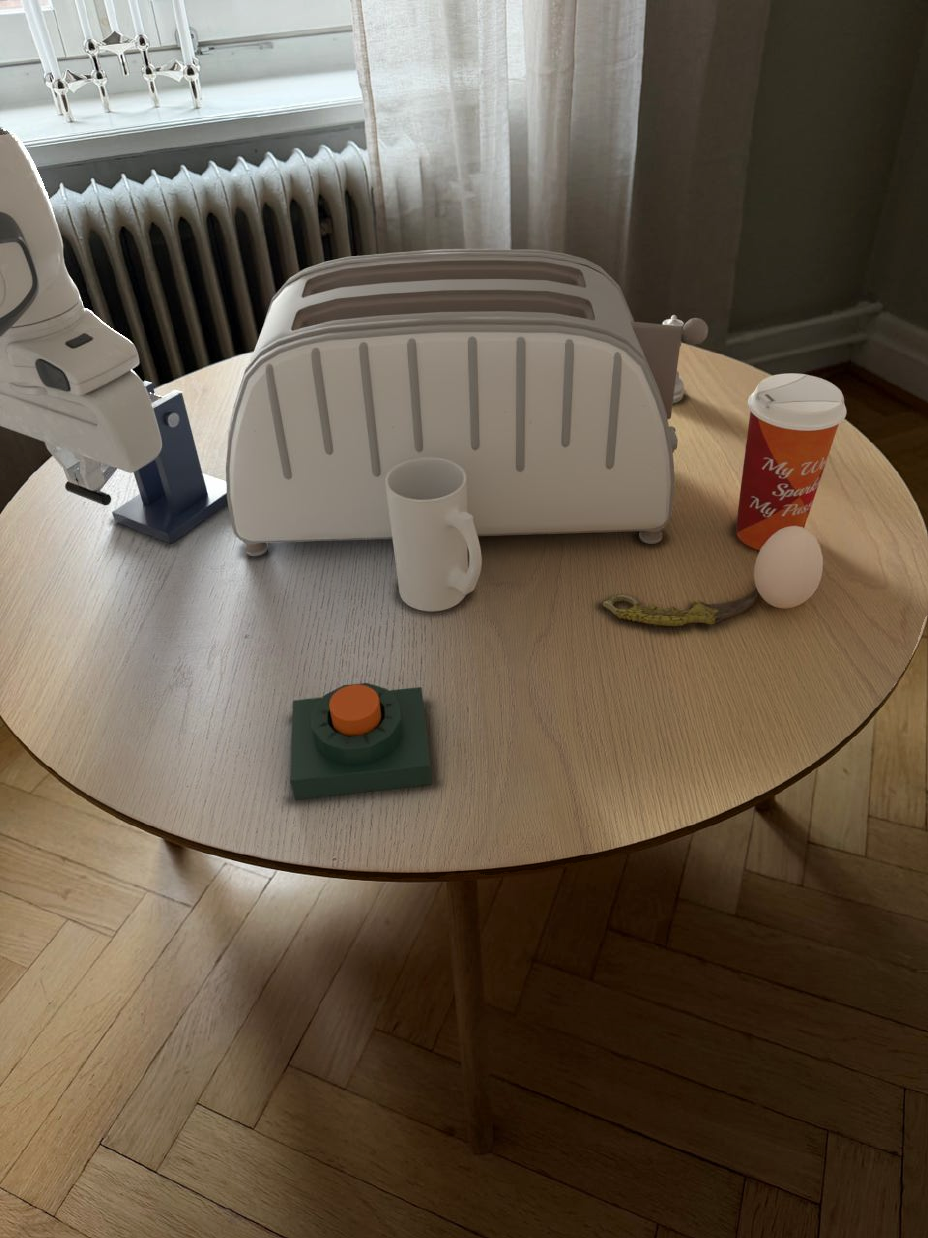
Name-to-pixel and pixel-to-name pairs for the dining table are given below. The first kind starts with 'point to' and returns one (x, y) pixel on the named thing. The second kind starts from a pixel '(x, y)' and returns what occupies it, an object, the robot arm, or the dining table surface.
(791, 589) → the egg
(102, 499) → the lever
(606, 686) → the dining table surface
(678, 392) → the chess piece
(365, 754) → the button box
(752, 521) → the coffee cup
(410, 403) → the toaster
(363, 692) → the button
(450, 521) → the mug
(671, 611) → the knife
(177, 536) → the bracket
